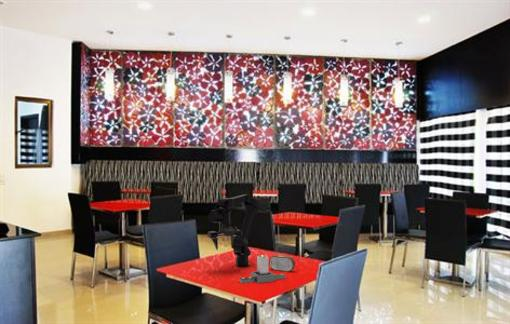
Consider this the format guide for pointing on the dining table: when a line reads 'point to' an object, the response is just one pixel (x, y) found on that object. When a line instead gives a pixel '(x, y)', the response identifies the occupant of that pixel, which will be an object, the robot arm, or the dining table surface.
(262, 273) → the grey upright column
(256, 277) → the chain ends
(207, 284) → the dining table surface
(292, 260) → the tin
